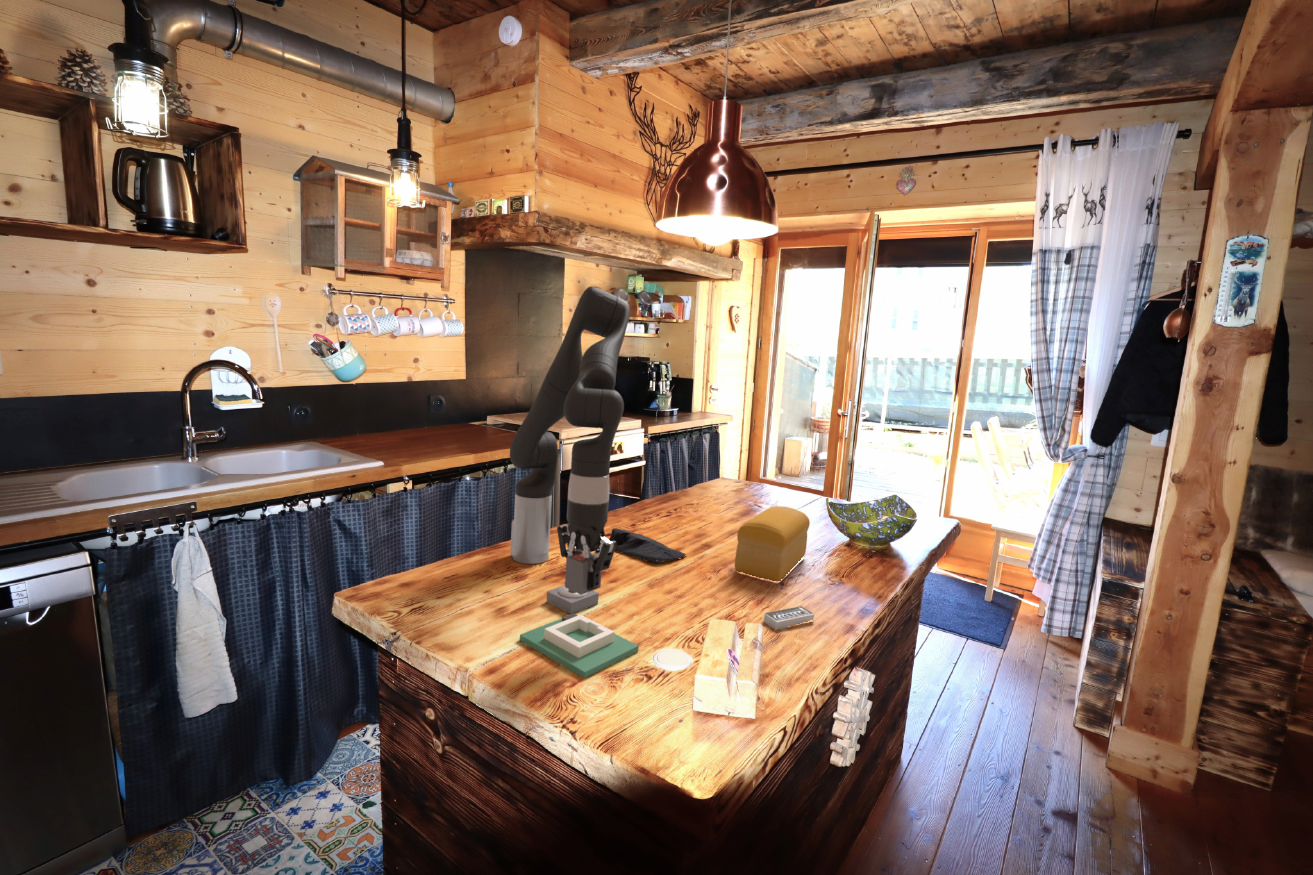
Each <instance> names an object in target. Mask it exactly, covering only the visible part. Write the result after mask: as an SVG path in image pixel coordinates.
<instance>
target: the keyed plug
mask: <svg viewBox="0 0 1313 875" xmlns="http://www.w3.org/2000/svg"><path fill="white" fill-rule="evenodd" d="M590 553H591V554H593V553H594V552H590ZM565 560H566V561H565V578H564V579H565V580H564V585H565V588H568V589H570V590H572V591H574V592H576V593H578V594H580V595H582V594H584V593H587V592H590V591H589V590H587V581H588V571H589V570H588V561H587V560H586V559H585V557H584V551H583V552H582V553H577V554H575V555H571V556H567V558H566V557H565ZM593 561H594V564H596V559H595V558H594V560H593ZM601 582H602V571H600V579H599V586H598V587H597V589H600V588H601V586H602V583H601ZM597 589H596V590H597ZM592 591H594V590H592Z"/></svg>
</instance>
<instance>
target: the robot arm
mask: <svg viewBox="0 0 1313 875" xmlns="http://www.w3.org/2000/svg"><path fill="white" fill-rule="evenodd" d="M630 309H631V308H630V305H629V303H628V302H627V301H626V300H624V299H622V297H621V298H620V297H618V296H616V295H615V294H612V293H609V292H607V291H606V290H603V289H601V288H598V287H595V286H592V285H591V286H588V287H587V288H585V290H584V291H583V292H582V293H581V296H580V297H579V299H578V302H577V304H576V308H575V310H574V312H573V315H572V317H571V320H570V322H569V324H568V326H567V330H566V333H565V334H564V337H563V340H562V342H561V345H560V347H559V349H558V351H557V353H556V355H555V357H554V359H553V361H552V362H551V365H550V366H549V369H548V370H547V373H546V374H545V376H544V379H543V381H542V383H541V386H540V388H539V390H538V393H537V394H536V395H537V396H536V397H535V399H534V402H533V403H532V405H531V407H530V408H529V411H528V413H527V415H526V416H525V418H524V419H523V421H522V423H521V424H520V426H519V428H518V429H517V431H516V432H515V434H514V436H513V438H512V440H511V443H510V448H509V458H510V459H509V460H510V462H511V464H512V465H513V466H514V467H515V468H517V469H521V470H531V469H532V470H531V472H529V473H528V474H527V475H526V476H525V477H523V478H521V479H519V480H518V481H517V482H516V484H515V492H514V493H515V494H514V495H515V496H514V516H513V517H514V519H512V521H511V531H510V532H511V534H510V536H511V537H510V554H509V555H510V556H511V557H512V559H513V560H514V561H515V562H516V563H520V564H527V565H528V564H530V565H531V564H532V565H533V564H534V565H535V564H540V563H542V564H543V563H545V562H546V561H548V559H549V557H550V556H549V554H550V553H549V552H550V538H551V536H550V535H551V520H552V517H551V516H552V500H553V496H552V495H553V489H554V487H555V486H554V485H555V483H556V478H557V477H556V475H557V467H558V457H559V456H558V454H559V447H558V441H557V439H556V436H555V435H554V434H553V433H552V432H550V431H548V430H550V428H551V427H553V426H554V425H555V424H557V422H559V421H560V420H562V419H563V418H564V417H565V419H566V421H567V423H569V424H570V425H571V426H574V427H576V428H577V427H579V428H594V429H602V431H601V432H600V434H599V435H598V436H596V437H593V438H585V439H581V440H576V441H575V442H574V443H573V445H572V448H571V461H570V475H569V479H568V480H569V481H568V487H567V488H568V489H567V490H568V491H567V505H566V510H567V511H566V520H567V522H568V523H567V524H562V525H558V526H557V527H556V531H557V537H558V545H559V550H560V556H561V558H565V559H566V558H567V556H571V555H575V554H577V553H582V552H584V557H585V559H586V560H587V561H588V570H589V571H588V581H587V590H589V591H592V590H593V591H595V590H597V587H598V586H599V579H600V571H605V570H608V569H610V566H611V563H612V559H613V558H614V555H615V552H616V551H615V548H616V545H617V544H616V541H609V539H608V538H607V537H606V532H605V526H606V524H607V522H608V518H609V517H608V514H609V503H610V502H609V501H610V484H611V483H610V465H611V464H610V463H611V456H612V448H613V442H614V439H615V436H616V433H617V430H618V428H619V425H620V423H621V420H622V417H623V413H624V410H625V403H624V399H623V397H622V395H621V394H620V393H619V392H618V391H617V390H614V389H615V387H616V379H617V370H618V369H617V367H618V361H619V357H620V356H619V355H620V352H621V349H622V346H623V342H624V340H625V335H626V333H627V332H626V331H627V327H628V324H629V320H630V312H631V311H630ZM584 331H587V332H590V333H592V334H594V335H597V336H599V337H601V338H603V339H601V340H599V341H597V342H594V343H593V344H591V345H590V346H589V347H588V348H587V349H586V350H585V352H584V353H583V351H582V349H583V348H582V334H583V332H584ZM566 545H567V546H566ZM591 553H593V554H591ZM594 558H595V559H596V564H594V561H593V560H594Z"/></svg>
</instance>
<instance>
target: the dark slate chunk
mask: <svg viewBox="0 0 1313 875" xmlns="http://www.w3.org/2000/svg"><path fill="white" fill-rule="evenodd" d="M608 540H609V541H616V544H617V545H616V548H615V551H614V552H617V551H618V553H620V552H621V554H623V555H628V554H629V556H631V557H633V556H634V558H636V559H640V558H641V560H643V559H644V560H643V561H645V560H647V561H646V562H650V561H652V562H651V563H654V562H655V563H654V564H657V563H658V564H659V563H663V562H668V561H675V560H680V559H679V558H682V559H684V558H685V557H686V556H685V555H687V554H686V553H684V552H682V551H680V550H677V549H676V550H675V549H673V548H671V547H668V546H667V545H665V544H664V543H662V542H660V541H657V540H655V539H653V538H651V537H648V536H646V535H643V534H640V533H636V532H633V531H629V530H626V529H620V528H617V527H616V528H614V527H613V528H612V530H611V531H610V536H609V539H608ZM684 556H685V557H684Z"/></svg>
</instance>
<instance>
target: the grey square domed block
mask: <svg viewBox="0 0 1313 875" xmlns="http://www.w3.org/2000/svg"><path fill="white" fill-rule="evenodd" d="M599 594H600V593H599V592H597V591H595V590H593V591H590V592H587V593H584V594H582V595H580V594H578V593H576V592H574V591H572V590H570V589H568V588H565V584H564V585H562V586H558V587H555V588H553V589H549V590H547V591H546V601H545V602H546V603H548V604H550V605H551V606H554V607H556V608H558V609H560V610H561V611H564V612H566V613H568V614H569V615H570V614H573V613H574V614H576V613H578V612H580V611H583V610H586V609H588V608H590V607H594V606H596V605H598V604H599Z"/></svg>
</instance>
